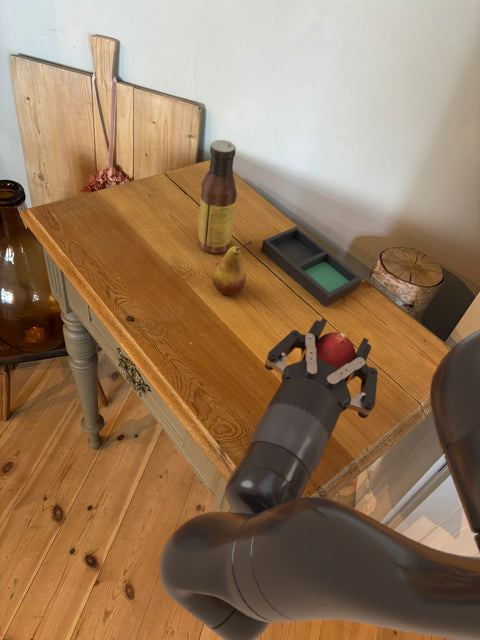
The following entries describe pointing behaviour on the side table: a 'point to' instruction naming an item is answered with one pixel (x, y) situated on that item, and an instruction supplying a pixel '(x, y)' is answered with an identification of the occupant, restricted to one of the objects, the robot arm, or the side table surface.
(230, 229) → the sauce bottle
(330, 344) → the onion
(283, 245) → the tray
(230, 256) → the fruit
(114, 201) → the side table surface
